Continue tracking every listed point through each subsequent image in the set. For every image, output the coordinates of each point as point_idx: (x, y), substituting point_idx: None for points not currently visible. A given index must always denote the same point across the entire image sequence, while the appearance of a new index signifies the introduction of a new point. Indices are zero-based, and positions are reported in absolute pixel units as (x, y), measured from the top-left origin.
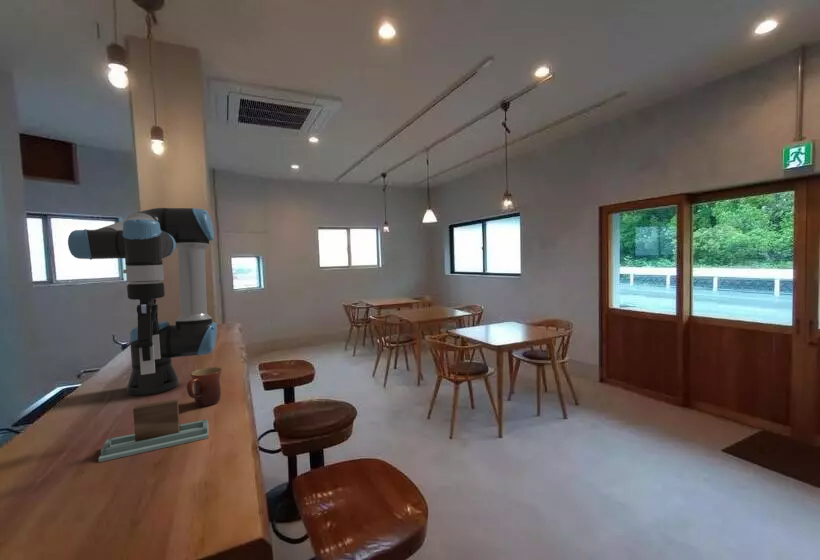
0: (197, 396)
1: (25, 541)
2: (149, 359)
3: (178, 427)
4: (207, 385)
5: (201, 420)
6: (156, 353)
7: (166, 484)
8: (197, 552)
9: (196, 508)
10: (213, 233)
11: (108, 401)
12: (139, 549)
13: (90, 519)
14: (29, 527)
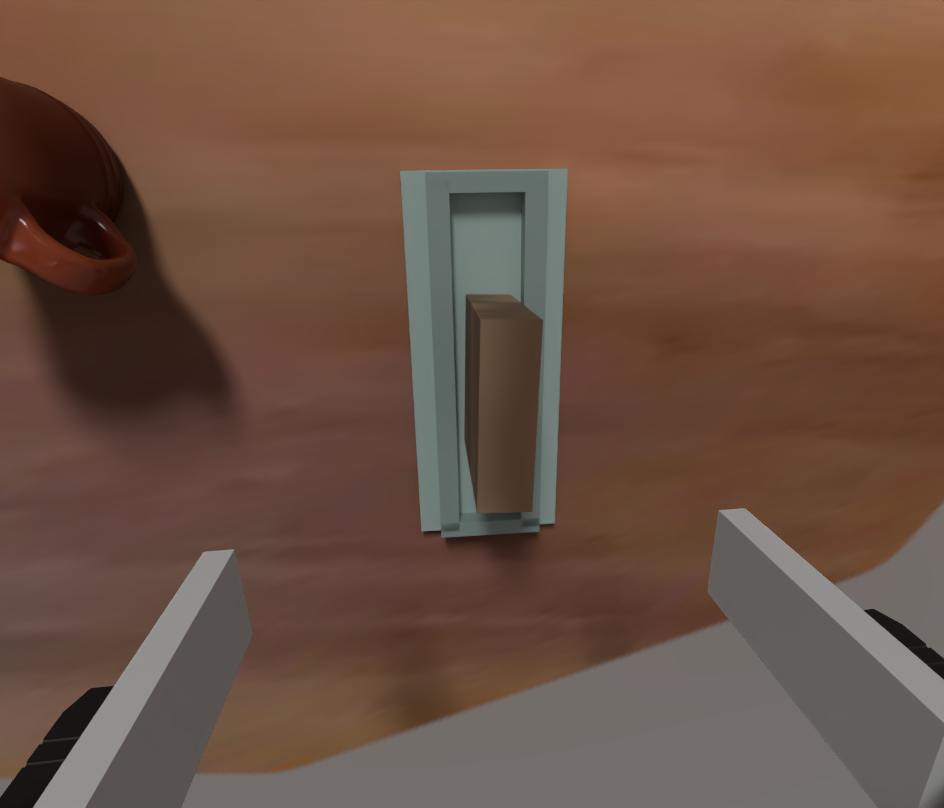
0: (114, 229)
1: (867, 550)
2: (886, 622)
3: (511, 299)
4: (38, 156)
5: (428, 201)
6: (219, 617)
7: (838, 300)
8: None
9: None
10: None
11: None
12: None
13: (876, 454)
14: (814, 562)
